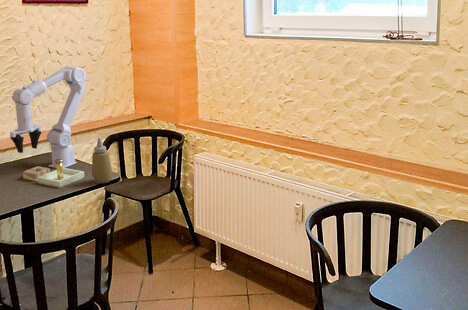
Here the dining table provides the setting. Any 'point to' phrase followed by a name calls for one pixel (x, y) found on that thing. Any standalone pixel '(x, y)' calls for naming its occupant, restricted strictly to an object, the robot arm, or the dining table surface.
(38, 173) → the lock block
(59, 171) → the pin
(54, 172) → the tray
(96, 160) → the squeeze bottle
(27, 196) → the dining table surface
